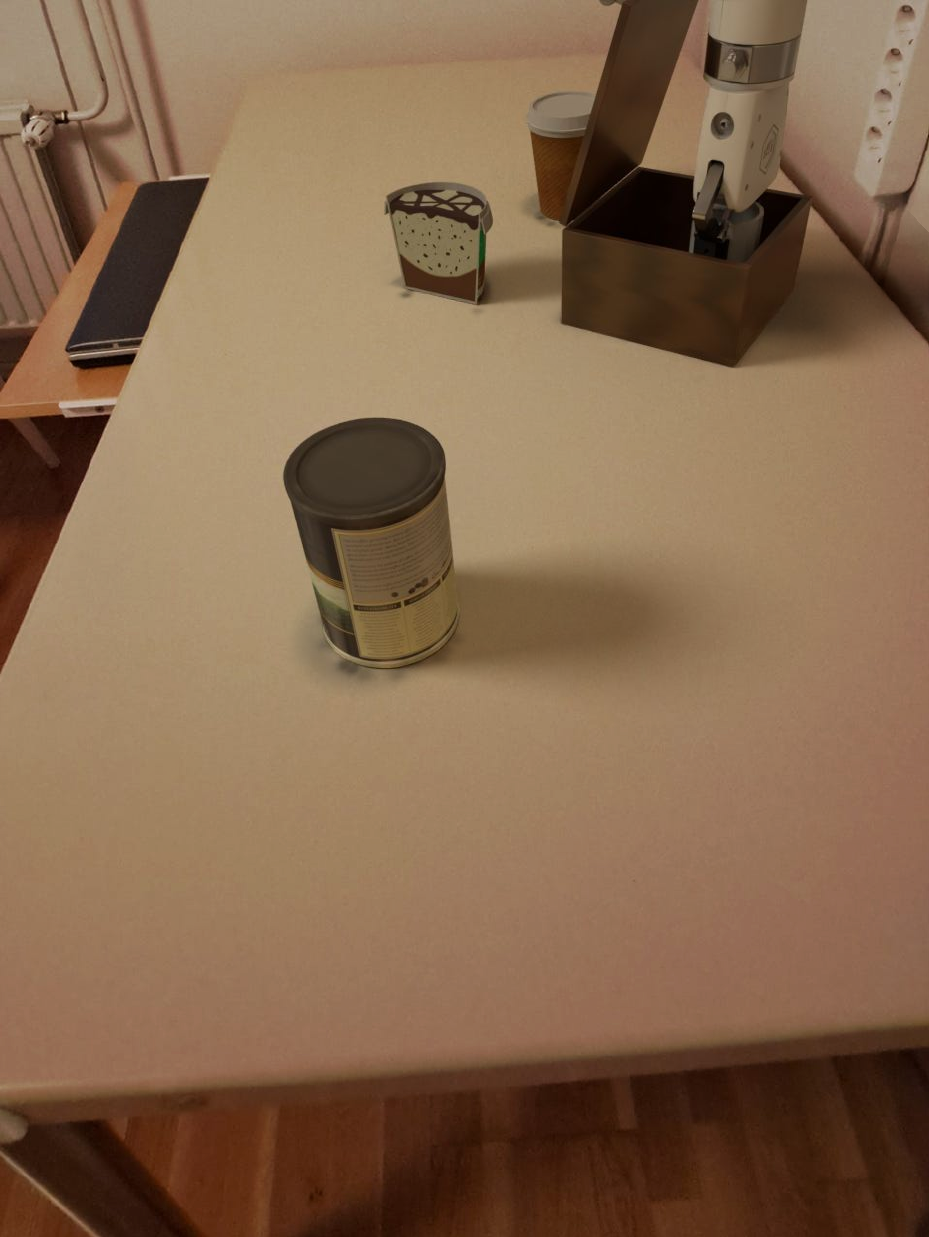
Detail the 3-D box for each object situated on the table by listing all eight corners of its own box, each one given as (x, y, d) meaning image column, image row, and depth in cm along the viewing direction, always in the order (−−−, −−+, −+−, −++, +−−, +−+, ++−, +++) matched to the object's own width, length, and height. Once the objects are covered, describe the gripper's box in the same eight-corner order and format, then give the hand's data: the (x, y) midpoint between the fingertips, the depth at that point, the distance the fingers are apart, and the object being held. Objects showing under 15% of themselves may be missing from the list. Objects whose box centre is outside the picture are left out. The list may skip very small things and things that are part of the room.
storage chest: (794, 290, 98) (813, 195, 91) (733, 367, 89) (749, 269, 82) (632, 255, 106) (638, 166, 99) (561, 323, 97) (561, 229, 90)
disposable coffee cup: (517, 223, 114) (515, 116, 105) (539, 190, 120) (538, 87, 111) (594, 229, 111) (598, 121, 102) (612, 196, 117) (617, 90, 108)
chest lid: (714, -46, 83) (662, -71, 84) (631, 5, 73) (573, -23, 74) (641, 163, 98) (598, 140, 99) (565, 226, 89) (518, 201, 90)
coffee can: (297, 650, 68) (252, 498, 57) (359, 557, 74) (328, 405, 64) (428, 685, 65) (405, 531, 54) (481, 585, 71) (469, 430, 61)
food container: (516, 282, 103) (514, 189, 96) (489, 307, 100) (484, 213, 93) (422, 261, 108) (413, 172, 101) (393, 285, 105) (381, 194, 97)
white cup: (761, 273, 94) (773, 202, 88) (737, 301, 90) (748, 230, 85) (701, 260, 96) (709, 191, 91) (675, 287, 93) (682, 217, 88)
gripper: (755, 96, 72) (723, 310, 85) (829, 31, 82) (790, 233, 95) (665, 84, 75) (648, 293, 88) (746, 23, 85) (719, 220, 98)
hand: (722, 260), depth 92 cm, fingers closed on white cup, 6 cm apart
